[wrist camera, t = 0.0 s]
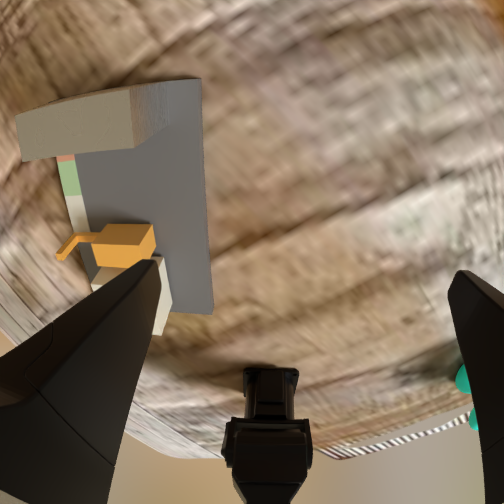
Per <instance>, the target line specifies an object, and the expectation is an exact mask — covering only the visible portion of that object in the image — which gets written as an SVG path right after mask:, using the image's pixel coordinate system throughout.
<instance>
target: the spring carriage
mask: <svg viewBox="0 0 504 504" xmlns="http://www.w3.org/2000/svg"><path fill="white" fill-rule="evenodd" d="M150 259H154V260H156V261H157V264H158V268H159V273H160V278H161V283H162V289H161V294H160V299H159V304H158V308H157V313H156V318H155V323H154V328H153V332H152V335H162V332H163V329H164V326H165V323H166V320H167V317H168V314H169V311H170V308H171V306H172V298H171V293H170V288H169V283H168V277H167V272H166V266H165V261H164V257H152V256H151V257H150ZM126 269H128V268H119V267H104V266H102V267H101V269H100V270H99V272H98V273H97V275H96V276H95V278H94V279H93V281H92V283H91V287H92V289H93V292H94V291H96V290H97V289H99V288H100V287H101V286H103V285H104V284H106V283H107V282H109V281H110V280H112V279H113V278H115V277H116V276H117V275H119V274H120V273H122V272H123V271H125V270H126Z"/></svg>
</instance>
